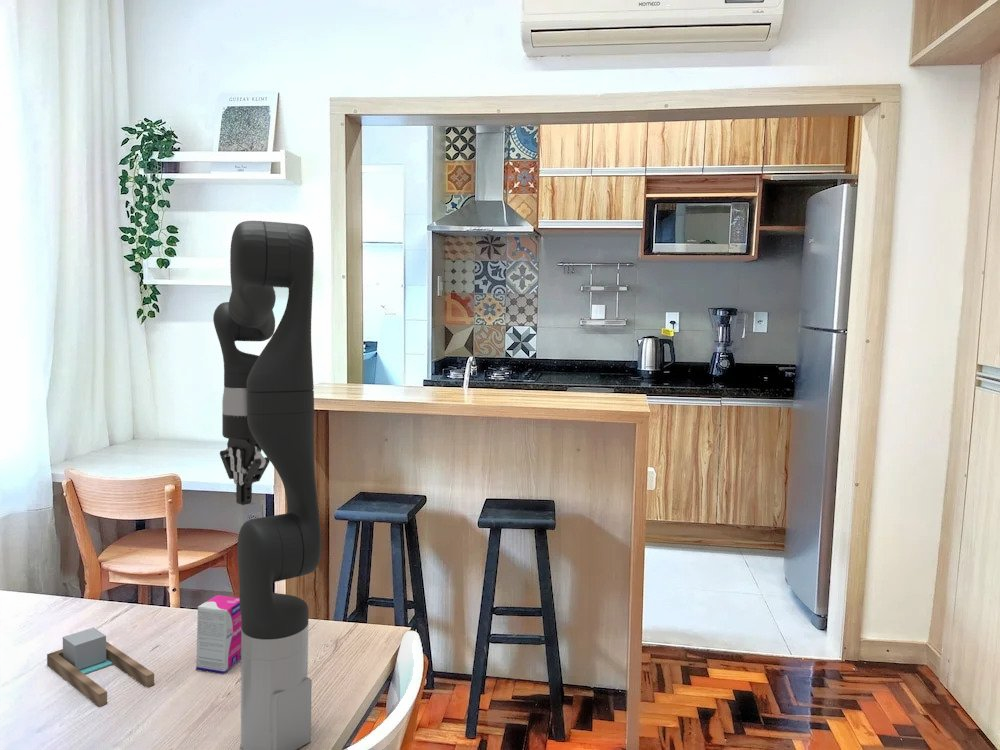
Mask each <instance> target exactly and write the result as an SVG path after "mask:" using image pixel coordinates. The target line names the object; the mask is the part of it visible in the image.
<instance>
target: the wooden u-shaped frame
mask: <svg viewBox="0 0 1000 750" xmlns="http://www.w3.org/2000/svg"><path fill="white" fill-rule="evenodd" d="M46 665H47V666H48V667H49V668H50V669H51V670H52V671H53V672H55V673H56V674H57V675H58V676H60V677H61V678H63V679H64V681H66V682H68V683H69V684H70V685H71V686H72V687H74V688H75V689H76V690H77V691H79V692H80V693H81V694H82V695H84V696H85V697H86V698H87V699H89V700H90V701H91V702H93V703H94V704H95V705H96V706H98V707H99V708H100V707H102V706H104V705H108V691H107V690H106V689H105V688H103V687H102V686H101V685H100V684H98V683H97V682H96V681H94V680H93V679H92V678H90V677H89V676H87V675H88V674H90V673H93V672H97V671H99V670H102V669H105V668H108V667H111V666H113V665H114V666H115V667H117V668H118V669H120V670H121V671H123V672H124V673H125V674H126V675H128V676H129V677H130V678H132V677H133V678H132V679H133V680H135V679H136V680H135V681H137V683H139V682H140V684H141V685H142V684H143V685H142V686H144V687H145V686H146V687H145V688H147V687H148V688H150V687H152V685H153V686H155V673H154V672H153V671H151V670H150V669H149V668H147V667H145V666H144V665H143V664H141V663H139V662H138V661H136V660H135V659H133V658H132V657H130V656H129V655H128V654H126V653H125V652H123V651H122V650H119V648H117V647H116V646H114V645H112V644H111V643H109V642H108V641H106V661H103V662H100V663H98V664H95V665H92V666H89V667H86V668H83V669H80V670H78V669H77V668H76V667H74V666H73V665H72V664H70V663H69V662H68V661H66V660H65V659H64V658H63V648H62V649H60V650H59V649H58V650H56V651H52V652H50V653H47V654H46ZM149 686H150V687H149Z"/></svg>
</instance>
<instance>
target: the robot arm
mask: <svg viewBox="0 0 1000 750" xmlns="http://www.w3.org/2000/svg"><path fill="white" fill-rule="evenodd" d="M230 240H231V241H230V251H229V252H230V253H229V255H230V256H229V257H230V260H229V263H230V264H229V266H230V267H229V268H230V269H229V271H230V285H231V292H230V295H229V300H228V301H224V302H222V303H220V304H219V305H218V306H216V309H215V310H214V312H213V326H214V329H215V332H216V336H217V339H218V342H219V345H220V349H221V354H222V358H223V359H222V360H223V394H222V404H221V406H222V409H221V410H222V413H221V414H222V417H221V418H222V423H221V424H222V431H221V432H222V433H221V434H222V437H223V438H225V439H227V443H226V444H227V445H226V446H227V447H226V449H224V450H220V452H219V456H220V458H221V461H222V464H223V467H224V469H225V471H226V472H225V473H226V474H227V476H228V479H229V480H233V483H234V485H236V486H235V487H236V488H235V491H236V494H235V495H236V496H235V498H236V502H235V503H236V504H238V505H241V506H245V505H250V504H251V503H252V495H253V493H252V492H253V491H252V490H253V489H252V488H253V484H254V483H257V482H260V481H261V478H262V477H263V475H264V473H265V471H266V469H267V468H268V466H269V464H270V463H271V464H272V466H273V467H274V469H275V470H276V472H277V474H278V475H279V477H280V480H281V482H282V485H283V488H284V492H285V493H284V494H285V500H286V506H287V507H286V511H287V512H286V513H281V514H275V515H270V516H264V517H263V516H262V517H257V518H252V519H248V520H247V521H245V522H244V523H243V524H242V525H241V527H240V529H239V532H238V536H237V567H238V569H237V571H238V588H239V589H238V590H239V592H238V593H239V596H238V598H240V610H241V620H242V635H241V661H240V667H241V668H240V669H241V670H240V747H241V750H298V749H300V748H301V747H303V746H305V745H307V744H309V743H310V742H311V741H312V689H313V688H312V686H313V685H312V679H311V678H310V677H308V673H309V672H308V669H309V668H308V667H309V619H310V618H309V613H310V611H309V606H308V604H307V602H306V601H305V600H304V599H302V598H301V597H298V596H295V595H292V594H285V593H277V592H273V583H277V582H280V581H285V580H289V579H294V578H298V577H302V576H306V575H309V574H311V573H313V572H315V570H316V569H317V568H318V566H319V564H320V561H321V560H320V559H321V556H322V530H321V520H320V510H319V509H320V508H319V500H318V493H317V491H318V490H317V482H316V467H315V432H314V431H315V395H314V394H315V391H314V389H315V388H314V373H313V372H314V368H313V347H312V312H313V311H312V310H313V287H314V262H315V261H314V260H315V255H314V254H315V253H314V243H313V242H314V241H313V237H312V233H311V231H310V229H309V228H308V227H307V226H305V225H304V224H300V223H290V222H281V221H280V222H276V221H266V220H264V221H262V220H246V221H241V222H239V223H238V224H237V225H236V226H235V228H234V230H233V232H232V236H231V239H230ZM275 288H287V289H288V296H287V302H286V306H285V308H284V309H285V310H284V312H283V315H282V317H281V319H280V321H279V323H278V325H277V328H276V319H275V314H274V307H275V305H276V299H277V298H276V297H277V296H276V295H277V294H276V291H275ZM266 341H268V342H267V344H266V345H265V346H264V348H263V350H261V353H260V354H258V355H257V354H252V353H248V352H245V351H241V350H239V348H238V347H237V345H236V342H266ZM261 452H263V454H264V455H265V457H264V456H263V454H262V453H261Z"/></svg>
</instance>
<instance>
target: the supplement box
mask: <svg viewBox="0 0 1000 750" xmlns="http://www.w3.org/2000/svg"><path fill="white" fill-rule="evenodd" d="M196 624H197V626H196V627H197V628H196V629H197V630H196V660H195V661H196V662H195V663H196V665H195V670H196V671H199V670H201V671H200V672H206V671H208V673H213V672H214V673H213V674H219V673H220V674H221V675H225V674H226V673H227V672H228V671H230V670H231V669H232V668H233V667H235V666H236V665H237V664H238V663H240V662H241V661H240V660H241V635H242V620H241V610H240V598H239V597H234V596H233V597H232V596H225V595H219V594H216V595H215V596H213V597H211V598H210V599H208V600H207V601H205V602H203V603H202V604H200V605H198V606H197V623H196ZM239 661H240V662H239ZM235 664H236V665H235Z"/></svg>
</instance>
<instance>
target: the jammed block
mask: <svg viewBox="0 0 1000 750" xmlns="http://www.w3.org/2000/svg"><path fill="white" fill-rule="evenodd" d="M106 642H107V635H106V634H104V633H102V631H100V630H98V629H97V628H95V627H91V628H87V629H84V630H81V631H78V632H77V631H76V632H75V633H70V634H68V635H65V636H62V649H63V658H64V659H65V660H66V661H68V662H69V663H70V664H72V665H73V666H74V667H76V668H77V669H78V670H80V669H83V668H86V667H89V666H92V665H95V664H98V663H100V662H103V661H106Z"/></svg>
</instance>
